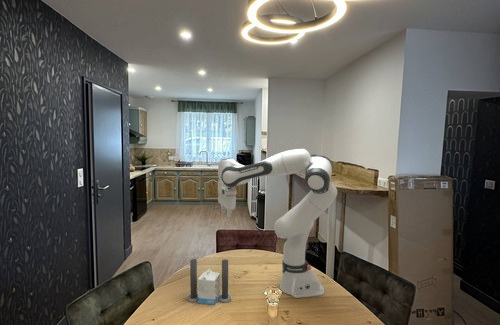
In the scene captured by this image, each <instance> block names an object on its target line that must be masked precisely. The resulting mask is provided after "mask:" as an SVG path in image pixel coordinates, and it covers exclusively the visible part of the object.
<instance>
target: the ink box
mask: <svg viewBox="0 0 500 325" xmlns="http://www.w3.org/2000/svg"><path fill="white" fill-rule="evenodd" d="M197 294H198V302H197V303H198V304H201V305H202V304H203V305H214V306H215V305H216V303H217V302H218V301H219V296H220V295H221V272H217V271H216V272H214V271H212V270H211V269H210V268H207V270H206V271H205V270H204V271H203V272H202V273H201V275H200V276H198V277H197Z"/></svg>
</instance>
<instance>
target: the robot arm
mask: <svg viewBox="0 0 500 325" xmlns="http://www.w3.org/2000/svg"><path fill="white" fill-rule="evenodd" d="M296 173H297V174H298V173H299V174H300V173H301V174H304V183H305V185H306V187H307V188H308V189H309V190H310V191H309V192H308V193H307V194H306V195H305V196H304V197H303V198H302V199H301V200H300V201H299V202H298V203H297V204H296V205H294V207H292V208H291V209H289V210H288V211H287V212H285V214H284V215H282V216H281V217H279V218H278V219H277V220H275V222H274V225H273V229H274V233H275V235H276V236H277V237H278V238H280V239H286V240H285V242H284V244H283V252H282V253H283V254H282V255H283V256H282V258H283V259H282V263H281V271H282V274H281V279H280V283H279V284H280V285H279V289H280V290H281V291H282V292H283V293H285V294H287V295H289V296H292V297H293V298H295V299H299V298H308V297H309V298H310V297H319V296H325V288H324V285H323V284H322V283H321V282H320V280H319V279H320V278H319V277H318V275H317V274H316V273H315V272H314V271H312V270H311V269H312V266H311V265H310V263H309V262H308V261H307V260H306V246H307V243H308V239H309V235H310V232H311V230H312V229H313V227H314V225H315V221H316V220H317V219H318V218H319V217H320V216H321V215H322V214H323V213H324V212H326V211H327V209H328V208H329V207H330V206H331V204H333V202H334V201H335V199H336V198H337V195H338V189H337V187H336V185H335V184H333V182H331V178H332V175H333V174H332V173H333V163H332V160H331V159H330V158H329V157H328V156H325V155H317V154H310V152H309V151H308V150H307V149H305V148H296V149H288V150H285V151H282V152H279V153H276V154H273V155H272V156H270V157H268V158H265V159H263V160H261V161H257V162H256V163H252V164H248V165H243V164H241V163H239V162H237V161H236V160H235V159H234V158H232V157H231V158H224V159H221V160H219V162H218V168H217V177H218V182H217V194H218V195H217V202H218V204H220V209H221V213H222V214H225V213H226V217H227V218H231V216H232V211H234V210H236V206H237V204H236V203H237V202H236V200H237V196H236V195H237V194H238V191H237V188H236V187H237V186H241V185H244V184H248V183H249V182H250V181H251V179H255V178H259V177H282V176H288V175H293V174H296Z"/></svg>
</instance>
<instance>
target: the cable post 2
mask: <svg viewBox="0 0 500 325" xmlns="http://www.w3.org/2000/svg"><path fill="white" fill-rule="evenodd" d="M218 301H219V302H220V303H222V304H227V303H229V302H231V301H232V295H231V294H229V259H226V258H225V259H222V260H221V294H220V296H219V299H218Z"/></svg>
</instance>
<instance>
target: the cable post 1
mask: <svg viewBox="0 0 500 325" xmlns="http://www.w3.org/2000/svg"><path fill="white" fill-rule="evenodd" d="M197 261H198V260H197V259H196V258H192V259H190V261H189V262H190V263H189V265H190V268H189V270H190V276H189V278H190V280H189V282H190V294H189V295H188V296H186V297H187V298H186V299H187V302H188V303H192V304H193V303H198V276H197V275H198V273H197V272H198V270H197V269H198V264H197Z"/></svg>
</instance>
